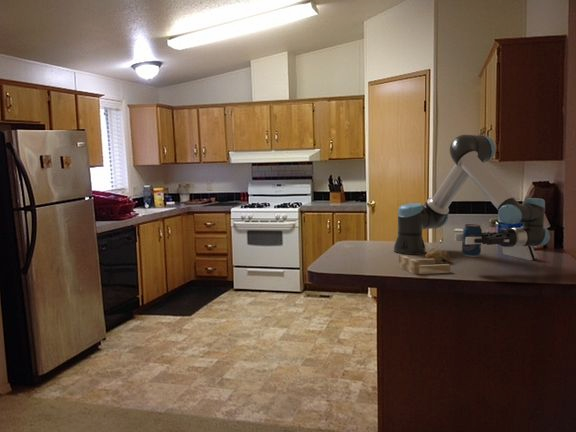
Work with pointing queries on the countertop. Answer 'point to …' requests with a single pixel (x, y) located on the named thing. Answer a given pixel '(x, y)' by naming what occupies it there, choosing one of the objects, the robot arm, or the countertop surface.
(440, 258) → the bread roll
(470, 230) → the soda can
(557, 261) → the countertop surface
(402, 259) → the u bracket
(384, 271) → the countertop surface
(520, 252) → the white napkin holder
